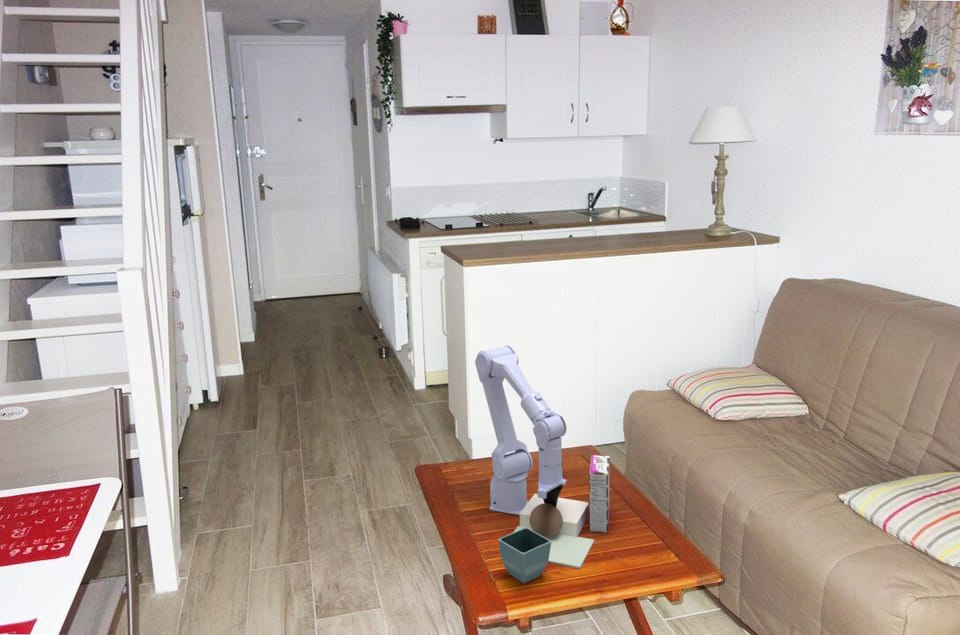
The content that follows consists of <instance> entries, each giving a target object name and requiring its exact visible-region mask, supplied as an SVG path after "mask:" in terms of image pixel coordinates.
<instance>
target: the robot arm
mask: <svg viewBox="0 0 960 635" xmlns="http://www.w3.org/2000/svg"><path fill="white" fill-rule="evenodd" d="M474 364H475V367H476V371H477V372H476V373H477V375H478V378H479V382H480V383H482V387H483V392H484V395H485V399H486V403H487V407H488V410H489V414H490V418H491V422H492V426H493V429H494V434H495V436H496V437H495V438H496V441H497V445H496V446H495V448H494V449H493V451H492V452H491V459H492V471H493V473H494V474H493V475H492V477H491V480H490V485H489V488H490V489H489V492H490V507H489V510H490V511H495V512H499V513H504V514H505V513H506V514H509V515H510V514H511V515H515V516H520V513H521V511H522V510H523V509H524V507H525V506H526V505H527V503H528V502H529V501H530V500H527V477H528V476H529V473H530V472H531V471H532V469H533V467H534V466H533V465H534V464H533V463H534V461H533V458H532V455H531V453H530V452H529V450H528V447H527V444H526V443H524V442H523V441H520V440H519V439H518V437H517V434H516V429H515V426H514V422H513V418H512V414H511V412H510V411H511V410H510V407H509V404H508V400H507V396H506V392H505V389H504V386H503V382H504V380H506V381H507V382H508V383H509V385H510V386H511V388H512V389H513V390H514V391H515V392H516V394H517V395H518V396H519V397H520V399H521V401H520V406H521V408H522V410H523V411H524V413H525V414H526V416H527V418H528V419H529V420H530V422H531V423H532V424H533V427H532V431H533V434H534V436H535V442H536V443H535V444H536V446H537V447H538V479H537V480H538V481H537V482H538V487H537V494H538V498H543V500H544V503H547V504H551V505H553V506H554V507H556V506H557V501H558V498H560V494H561V491H562V489H563V488H564V486H565V485H566V483H567V479H565V478H563V469H562V467H563V465H562V463H563V459H562V455H563V454H562V452H563V450H562V438H563V436H565V434H566V433H567V424H566V421H565V419H564V417H563V415H561V414H560V413H558V412H557V413H556V411H554V410H552V409H551V408H550V406H549V405H548V403H547V402H546V401H545V399H544V397H543V396H542V395H541V393H540V392H539V391H538V392H537V391H533V389H532V387H531V385H530V384H529V382H528V380H527V379H526V377H525V375H524V374H523V372H522V370H521V368H520V367H519V356H518V355H517V352H516V351H515V349H514V348H513V346H511V345H505V346H501V347H497V348H492V349H487V350H481V351H478V353H477V355H476V358H475V361H474ZM563 485H564V486H563Z"/></svg>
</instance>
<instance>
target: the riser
mask: <svg viewBox="0 0 960 635" xmlns="http://www.w3.org/2000/svg"><path fill="white" fill-rule="evenodd" d="M528 501H529V502H528V503H527V505H526V506H525V507H524V509H523V510H522V511H521V513H520V515H519V526H522V527H527V528H531V526H530V514H531V512H532V510H533V509H534V508H535V507H536V506H538V505H540V504H544V500H543V498H538V493H534V494H533V496H531V498H530V499H529V500H528ZM556 508H557V509H558V510H559V511H560V513H561V515H562V519H563V523H562V527H561V529H560V531H559V532H558V533H560V534H565V535H571V536H576V537H579V535H580V534H581V531H582V529H583V528H584V526H585V525H586V523H587V521H588V519H589V502H587V501H581V500H577V499H576V500H575V499H570V498H562V497H558V501H557V506H556Z"/></svg>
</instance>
